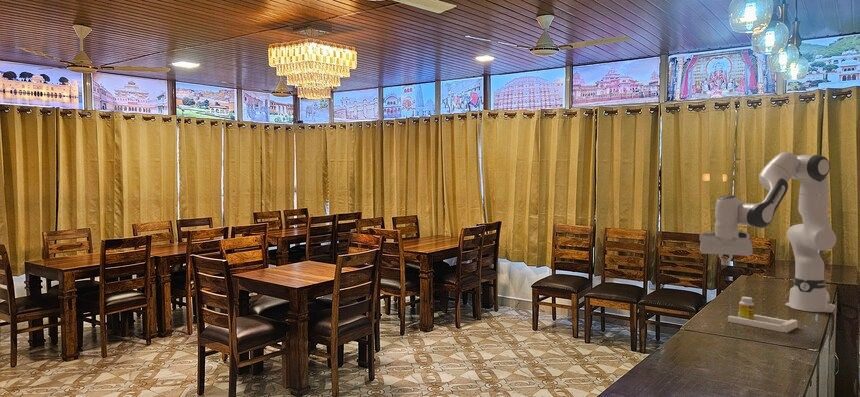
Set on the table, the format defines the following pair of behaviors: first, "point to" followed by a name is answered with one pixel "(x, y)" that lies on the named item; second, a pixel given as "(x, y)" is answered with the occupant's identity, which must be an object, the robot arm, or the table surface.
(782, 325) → the u rest
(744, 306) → the supplement bottle
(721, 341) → the table surface
